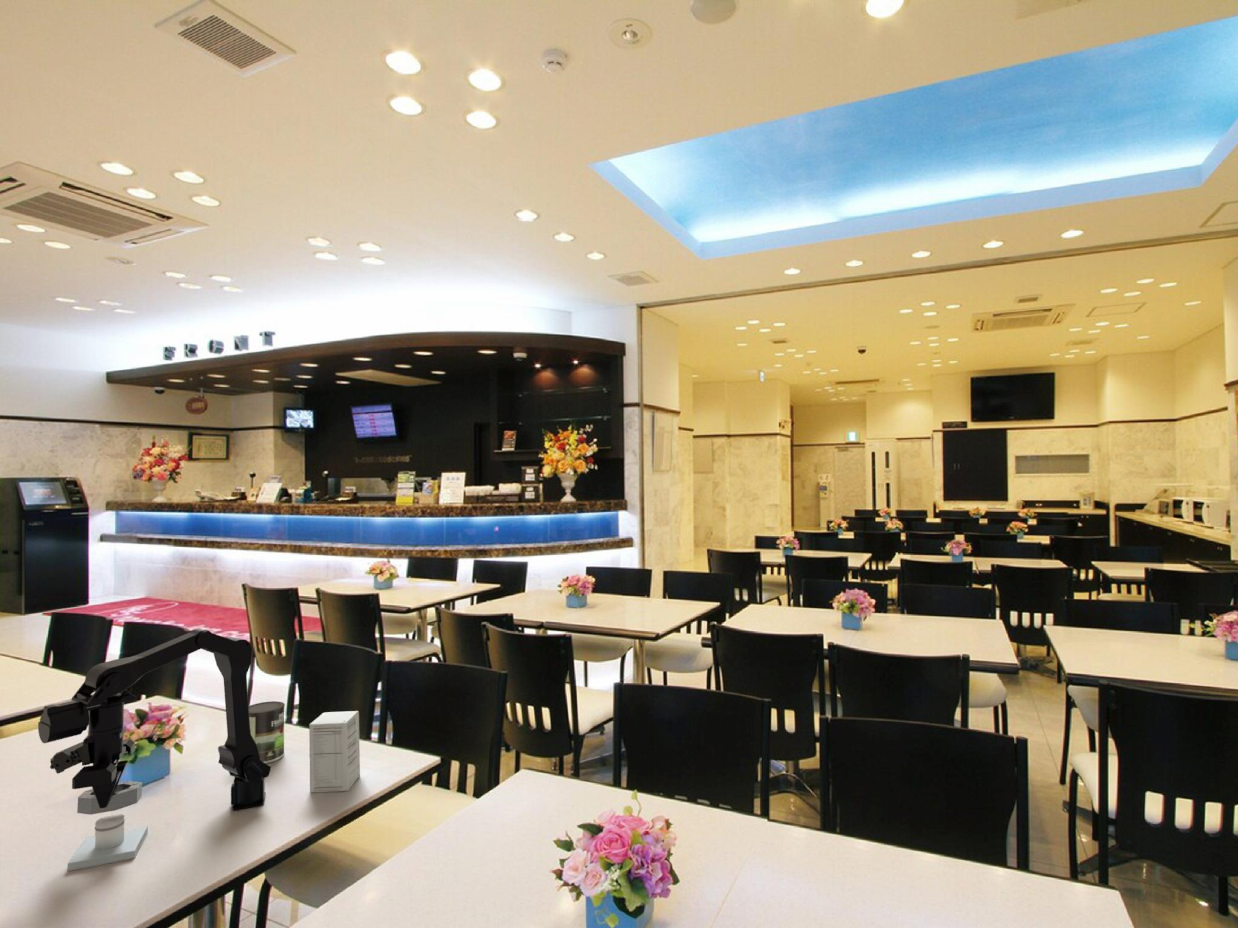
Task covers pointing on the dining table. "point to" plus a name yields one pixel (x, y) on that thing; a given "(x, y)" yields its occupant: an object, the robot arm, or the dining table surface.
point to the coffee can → (268, 729)
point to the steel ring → (119, 799)
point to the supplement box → (334, 751)
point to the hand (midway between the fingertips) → (104, 805)
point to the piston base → (110, 854)
